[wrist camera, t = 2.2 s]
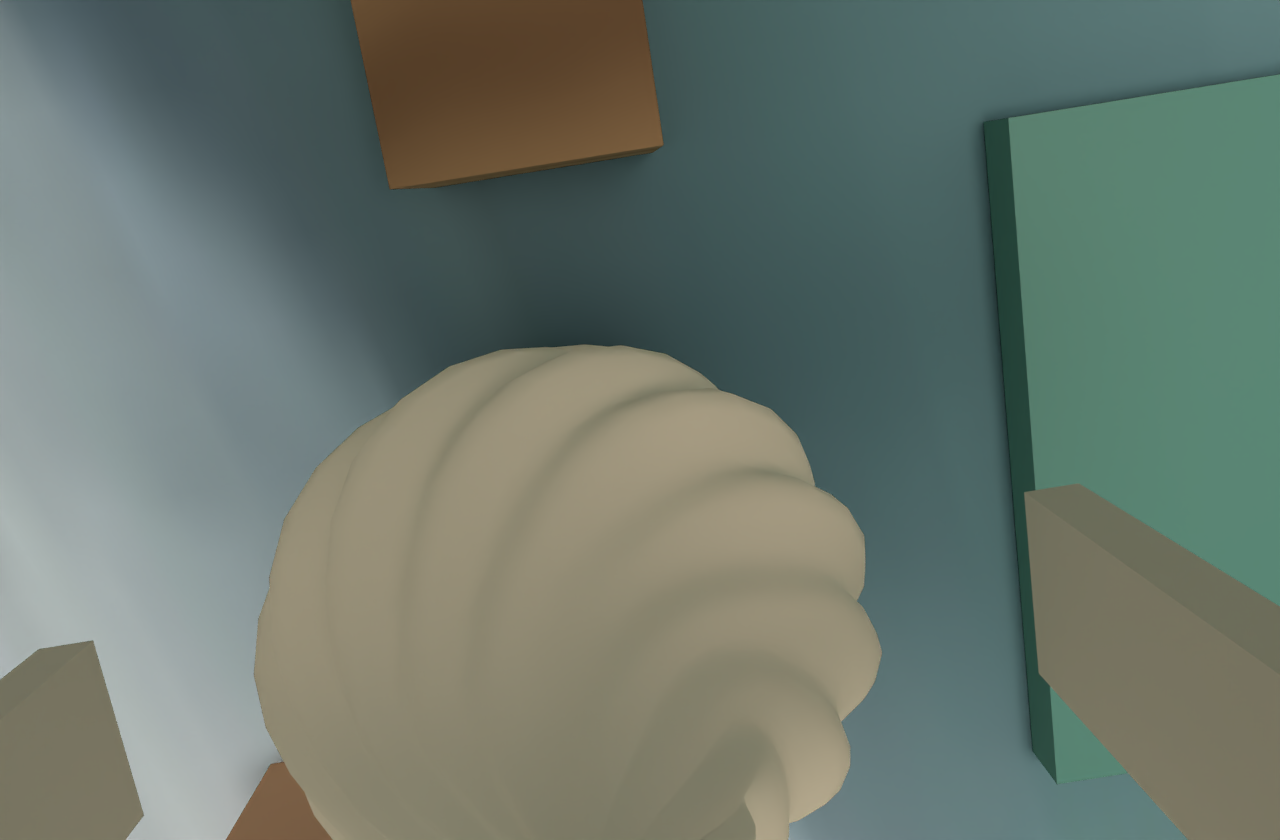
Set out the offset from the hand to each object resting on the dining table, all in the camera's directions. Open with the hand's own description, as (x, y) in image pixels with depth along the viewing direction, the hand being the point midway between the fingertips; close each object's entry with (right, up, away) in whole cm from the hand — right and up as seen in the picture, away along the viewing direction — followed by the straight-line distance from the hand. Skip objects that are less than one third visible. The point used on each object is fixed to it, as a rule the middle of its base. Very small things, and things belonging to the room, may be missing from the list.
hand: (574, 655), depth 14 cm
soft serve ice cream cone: (0, +3, +11) cm, 11 cm away
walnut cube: (-2, +11, +8) cm, 14 cm away
